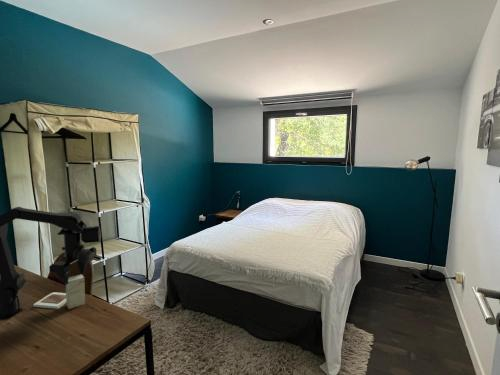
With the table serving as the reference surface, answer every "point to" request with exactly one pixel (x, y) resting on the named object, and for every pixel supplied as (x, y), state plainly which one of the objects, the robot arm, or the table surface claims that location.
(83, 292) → the skincare box
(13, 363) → the table surface
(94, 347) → the table surface
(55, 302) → the white square tray
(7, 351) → the table surface
